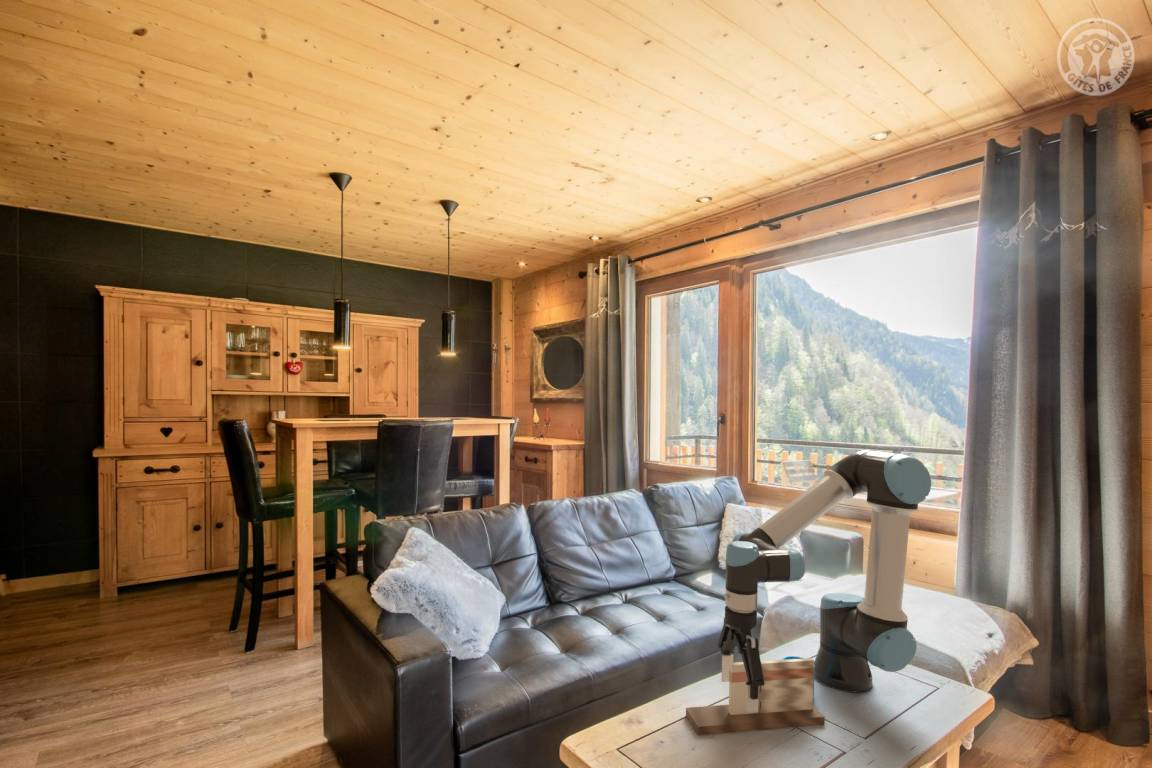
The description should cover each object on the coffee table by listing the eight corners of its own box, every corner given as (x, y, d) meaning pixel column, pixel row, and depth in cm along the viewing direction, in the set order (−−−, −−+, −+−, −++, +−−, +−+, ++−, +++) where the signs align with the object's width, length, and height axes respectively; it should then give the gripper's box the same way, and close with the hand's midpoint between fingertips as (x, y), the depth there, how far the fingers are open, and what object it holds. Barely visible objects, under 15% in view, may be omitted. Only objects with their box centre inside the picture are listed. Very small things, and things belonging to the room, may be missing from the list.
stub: (755, 710, 141) (756, 660, 141) (758, 713, 139) (759, 663, 139) (728, 712, 140) (729, 662, 140) (730, 715, 138) (731, 665, 138)
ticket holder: (806, 706, 146) (807, 651, 146) (824, 725, 139) (825, 666, 139) (685, 715, 141) (686, 658, 141) (697, 735, 134) (698, 675, 134)
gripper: (706, 589, 151) (704, 670, 151) (749, 629, 127) (747, 726, 126) (733, 588, 152) (731, 669, 152) (781, 628, 128) (779, 724, 128)
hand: (738, 695), depth 139 cm, fingers open, 13 cm apart
